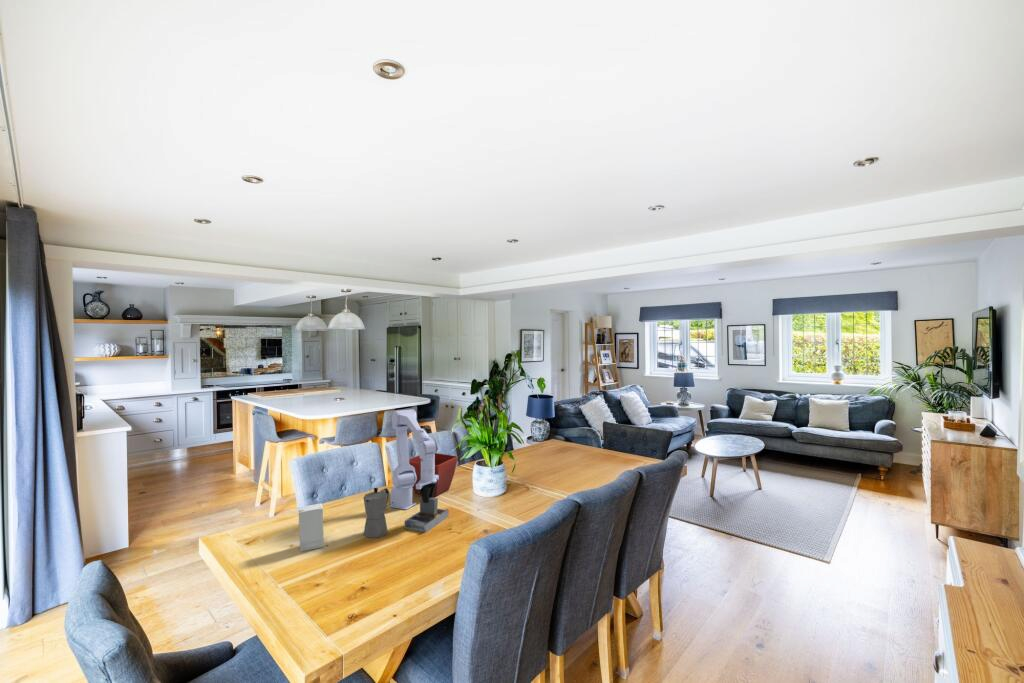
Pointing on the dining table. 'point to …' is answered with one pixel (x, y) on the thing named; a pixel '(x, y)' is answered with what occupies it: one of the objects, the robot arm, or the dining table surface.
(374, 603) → the dining table surface
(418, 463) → the plant pot
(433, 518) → the rack
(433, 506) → the block
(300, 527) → the skincare box
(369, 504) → the coffeepot
